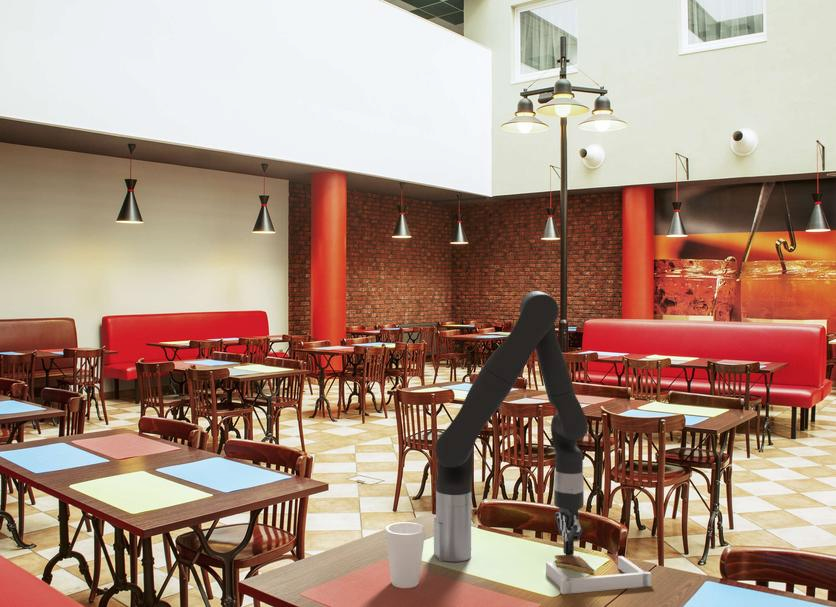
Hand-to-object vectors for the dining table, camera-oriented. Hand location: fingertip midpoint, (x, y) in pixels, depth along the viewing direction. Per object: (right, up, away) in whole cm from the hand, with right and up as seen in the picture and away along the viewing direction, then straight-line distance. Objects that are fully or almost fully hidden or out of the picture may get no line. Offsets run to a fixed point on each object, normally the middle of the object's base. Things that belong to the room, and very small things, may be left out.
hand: (568, 554), depth 193 cm
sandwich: (+1, -2, -5) cm, 5 cm away
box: (+3, -1, -15) cm, 16 cm away
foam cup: (-42, -1, -17) cm, 46 cm away
